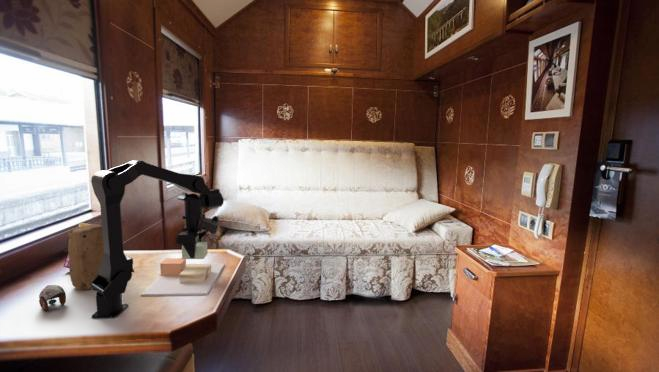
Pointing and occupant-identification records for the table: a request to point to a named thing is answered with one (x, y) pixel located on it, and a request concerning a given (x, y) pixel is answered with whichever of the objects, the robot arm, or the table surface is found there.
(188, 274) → the foundation slab
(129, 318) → the table surface
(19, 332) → the table surface
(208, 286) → the baseplate
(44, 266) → the table surface
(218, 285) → the table surface
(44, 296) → the helmet
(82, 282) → the block
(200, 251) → the sage block
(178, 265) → the terracotta block
